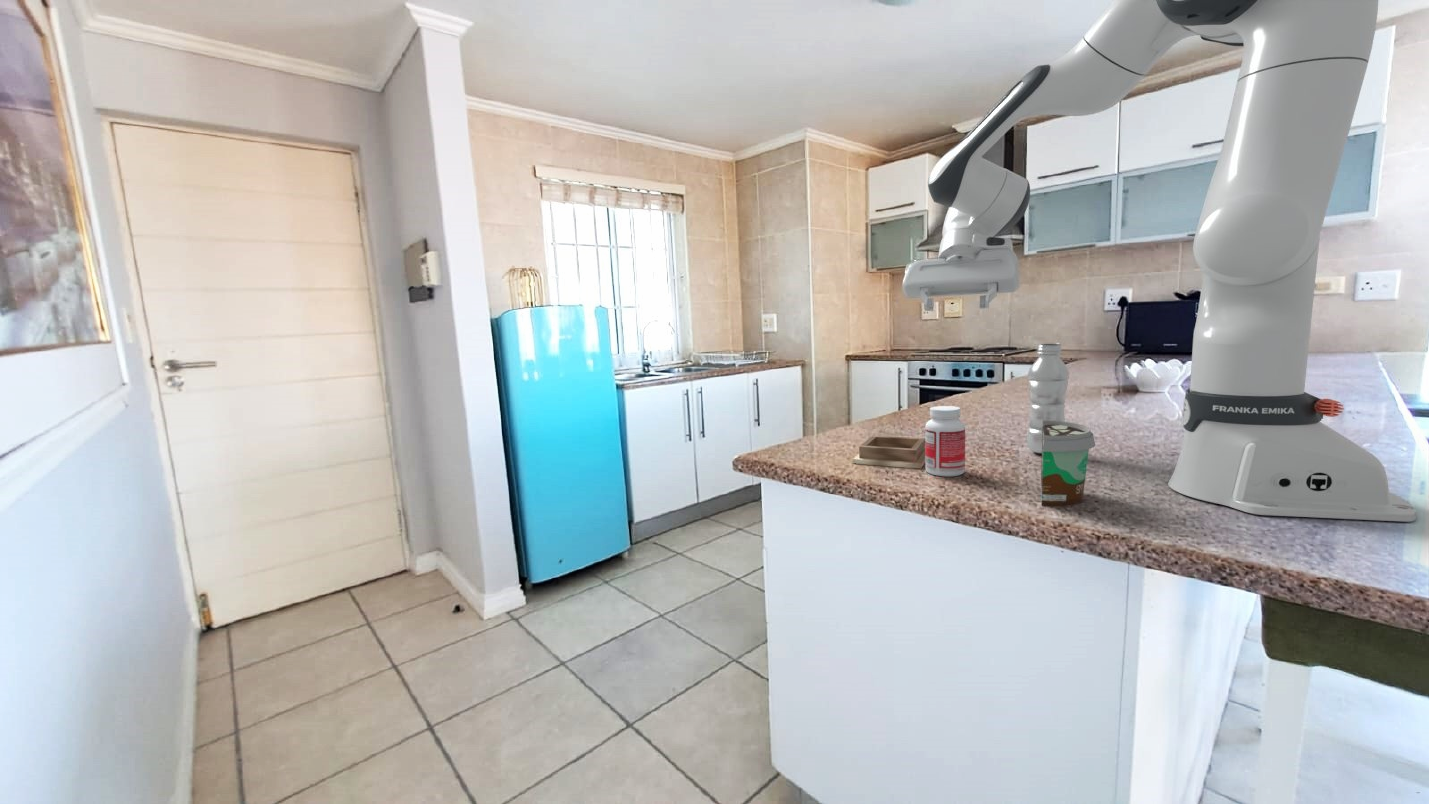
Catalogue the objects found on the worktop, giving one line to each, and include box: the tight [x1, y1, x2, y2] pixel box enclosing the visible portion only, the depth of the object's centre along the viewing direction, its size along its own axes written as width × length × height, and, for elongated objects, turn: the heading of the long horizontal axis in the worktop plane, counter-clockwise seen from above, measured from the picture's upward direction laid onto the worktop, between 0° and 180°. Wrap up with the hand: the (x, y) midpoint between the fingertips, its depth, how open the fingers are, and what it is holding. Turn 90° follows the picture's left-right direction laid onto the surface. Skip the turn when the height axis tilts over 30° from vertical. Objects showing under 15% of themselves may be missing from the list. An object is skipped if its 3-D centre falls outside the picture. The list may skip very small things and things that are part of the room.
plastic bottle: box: [1025, 343, 1070, 455], centre depth 100 cm, size 6×7×20 cm
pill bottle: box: [924, 405, 966, 478], centre depth 93 cm, size 6×6×11 cm
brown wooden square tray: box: [852, 435, 926, 469], centre depth 104 cm, size 12×12×3 cm
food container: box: [1040, 420, 1096, 507], centre depth 77 cm, size 12×6×10 cm, turn 150°
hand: (955, 307), depth 101 cm, fingers open, 8 cm apart
